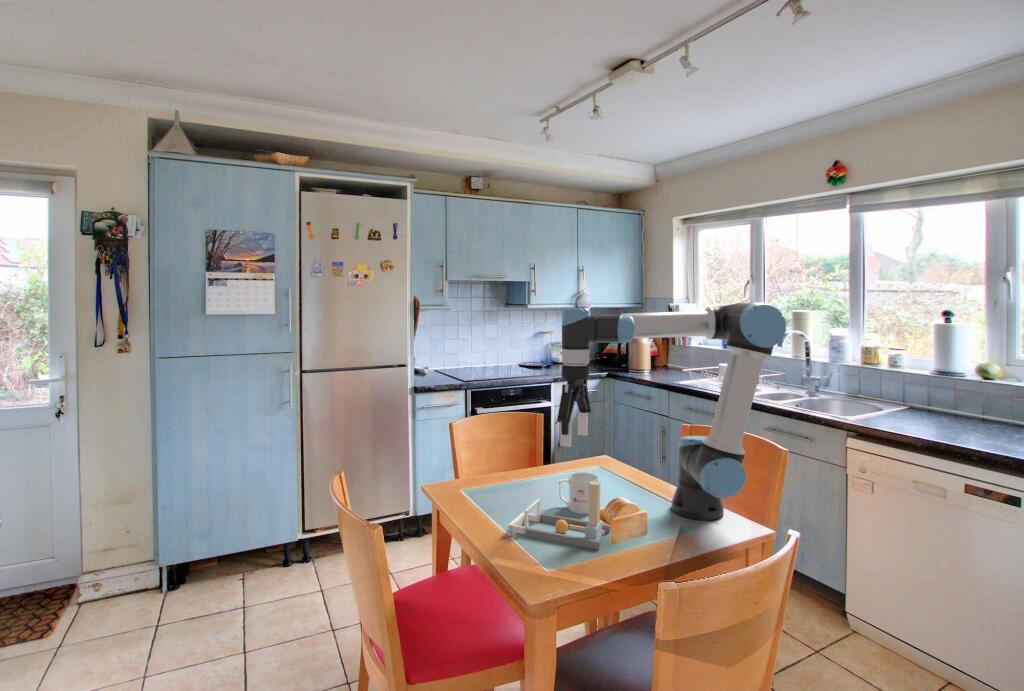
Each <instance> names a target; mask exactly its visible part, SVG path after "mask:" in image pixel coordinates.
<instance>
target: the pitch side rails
mask: <svg viewBox="0 0 1024 691" xmlns="http://www.w3.org/2000/svg"><path fill="white" fill-rule="evenodd" d="M558 520H565V521H566V522H567V524H568V530H576V531H582V532H585V527H586V526H587V524H588V520H584V519H577V518H571V517H567V516H561V515H560V516H559V515H552V514H547V513H541V512H540V522H543V523H549V524H554V525H555V523H556V522H557V521H558ZM609 525H610V524H607V523H602V536H605V535H606V534H610V533H611V526H609ZM525 537H528V538H534V539H539V540H545V541H549V542H555V543H560V544H563V545H564V544H565V545H571V546H576V547H582V548H584V549H585V548H586V549H592V550H598V551H600V549H601V540H599V541H597V540H592V539H586V538H585V537H580V536H575V535H570V534H569V535H568V534H564V533H558V532H553V531H547V530H542V529H538V528H531V527H528V528H526V534H525Z"/></svg>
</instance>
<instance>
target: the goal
mask: <svg viewBox="0 0 1024 691" xmlns="http://www.w3.org/2000/svg"><path fill="white" fill-rule="evenodd" d="M541 505H542V504H541V498H537V499H536V500H534V501H533V502H532V503H531V504H530V505H529V506H528V507H527V508H526V509H525V510H524V511H523V512H521V513H520V514H519V515H517V516H516V517H515V518H514V519H513V520H512V521H510V523H508V524H507V535H508V536H509V537H514V536H516V534H521V535H526V528H529V522H530V521H531V522H537V523H540V522H541V521H540V514H541ZM535 507H536V514H535V513H530V512H531V511H532V510H533V509H534V508H535Z"/></svg>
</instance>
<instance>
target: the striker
mask: <svg viewBox="0 0 1024 691" xmlns="http://www.w3.org/2000/svg"><path fill="white" fill-rule="evenodd" d="M600 511H601V482H600V481H599V482H594V481H591V482H590V483H589V514H588V520H587V521H588V524H587V526H586V527H585V531H584V532H585V533H584V538H586V539H592V540H597V541H600V539H601V538H602V536H603V534H602V524H603V520H601V518H600V517H601V512H600Z"/></svg>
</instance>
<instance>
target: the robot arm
mask: <svg viewBox="0 0 1024 691" xmlns="http://www.w3.org/2000/svg"><path fill="white" fill-rule="evenodd" d="M786 331H787V321H786V319H785V315H784V314H783V313H782V311H781V310H780V309H779V308H777V306H775V305H772V304H769V303H765V302H759V301H755V302H737V303H733V304H732V303H730V304H727V305H719V306H708V307H706V308H705V309H704V310H683V311H660V312H658V311H657V312H656V311H655V312H633V313H632V312H631V313H629V312H628V313H598V314H596V315H594V314H591V311H590V309H589V308H588V307H567V308H564V309H563V311H562V319H561V351H560V355H561V363H562V365H561V378H562V379H564V380H566V382H567V383H565V384H562V385H561V387H562V388H561V396H560V400H559V401H560V402H559V408H558V414H557V419H556V421H557V422H558V423H560V446H561V447H566V448H571V447H572V421H571V419H572V414H573V413H574V412H573V410H574V408H575V403H576V405H577V409H578V411H579V412H577V435H578V436H584V437H586V436H588V424H589V423H588V418H589V417H588V415H589V414H588V413H591V412H592V408H591V401H590V395H589V389H588V379H589V378H590V366H589V365H588V364H589V363H590V343H595V344H596V343H608V344H611V343H612V344H613V343H614V344H617V343H619V344H622V343H624V344H625V343H626V344H627V343H631V342H633V340H634V339H652V338H653V339H654V338H655V339H656V338H682V337H683V338H684V337H685V338H686V337H690V338H691V337H705V338H706V339H707V340H722V341H727V342H726V345H725V346H726V348H727V350H728V352H729V357H728V361H727V365H726V370H725V372H724V376H723V380H722V385H721V387H720V388H721V389H720V392H719V396H718V401H717V403H716V407H715V411H714V414H713V419H712V424H711V426H710V430H709V435H707V436H706V435H705V436H703V435H687V436H682V437H681V438H680V439H679V445H678V478H677V480H678V481H677V486H676V489H675V491H674V494H673V497H672V500H671V510H672V511H673V512H674V513H675V514H676V515H679V516H681V517H684V518H686V519H692V520H698V521H713V520H718V519H720V518H723V517H724V514H725V513H724V509H725V508H724V503H723V499H728V498H731V497H733V496H735V495H737V494H739V493H740V492H741V491H742V489H743V488H744V487H745V484H746V482H747V472H746V470H745V467H744V465H743V464H744V460H745V456H746V451H745V450H744V448H743V447H742V443H743V441H744V440H743V439H744V436H745V432H746V427H747V424H748V420H749V416H750V413H751V409H752V404H753V403H754V402H753V401H754V398H755V393H756V391H757V387H758V383H759V378H760V374H761V371H762V368H763V365H764V361H766V360H767V359H769V358H771V357H772V354H773V350H774V346H776V345H778V344H779V343H780V342H782V340H783V338H784V337H785V334H786Z"/></svg>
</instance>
